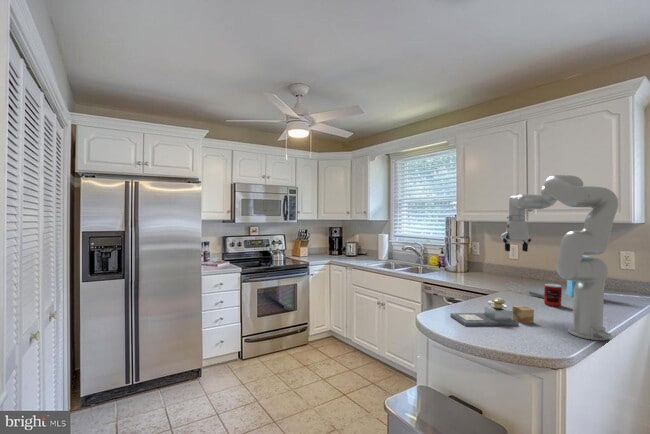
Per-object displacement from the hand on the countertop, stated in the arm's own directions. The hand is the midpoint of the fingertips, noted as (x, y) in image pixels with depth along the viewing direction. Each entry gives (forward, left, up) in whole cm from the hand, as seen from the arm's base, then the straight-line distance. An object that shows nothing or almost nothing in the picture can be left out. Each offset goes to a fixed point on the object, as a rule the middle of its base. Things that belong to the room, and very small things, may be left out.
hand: (516, 251), depth 176 cm
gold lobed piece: (-23, +24, -25) cm, 42 cm away
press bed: (-23, +32, -30) cm, 49 cm away
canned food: (+3, -23, -30) cm, 38 cm away
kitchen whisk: (+26, -27, -30) cm, 48 cm away
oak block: (-23, +13, -30) cm, 40 cm away
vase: (+22, -55, -30) cm, 66 cm away
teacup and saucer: (+6, +7, -30) cm, 31 cm away
